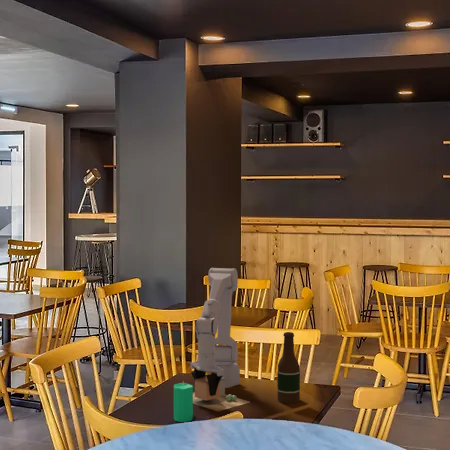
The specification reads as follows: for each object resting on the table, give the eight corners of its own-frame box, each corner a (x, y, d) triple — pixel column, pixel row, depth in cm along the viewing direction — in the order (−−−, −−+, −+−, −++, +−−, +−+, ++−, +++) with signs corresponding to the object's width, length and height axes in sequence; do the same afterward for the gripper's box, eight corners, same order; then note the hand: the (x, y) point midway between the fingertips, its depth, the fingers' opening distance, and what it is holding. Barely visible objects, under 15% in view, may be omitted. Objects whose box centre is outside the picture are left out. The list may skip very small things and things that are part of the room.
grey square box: (213, 391, 243) (213, 374, 243) (224, 395, 239) (224, 377, 239) (201, 394, 239) (201, 377, 239) (212, 398, 235) (212, 380, 235)
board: (207, 391, 246) (207, 388, 246) (250, 405, 230) (250, 401, 230) (174, 399, 236) (174, 396, 236) (217, 414, 220) (217, 410, 220)
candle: (173, 416, 218) (173, 378, 218) (192, 415, 219) (192, 378, 218) (173, 422, 212) (173, 383, 212) (193, 421, 213) (193, 383, 212)
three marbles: (230, 398, 235) (230, 393, 235) (237, 400, 232) (237, 395, 232) (222, 400, 232) (222, 395, 232) (230, 402, 230) (230, 397, 230)
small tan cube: (207, 394, 235) (207, 376, 235) (219, 397, 231) (219, 379, 231) (194, 396, 231) (195, 379, 231) (206, 400, 227) (206, 382, 227)
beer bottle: (302, 401, 235) (302, 331, 235) (297, 407, 228) (297, 335, 227) (280, 399, 238) (280, 329, 237) (274, 405, 230) (274, 333, 230)
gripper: (183, 351, 233) (183, 391, 233) (212, 358, 222) (212, 400, 223) (199, 348, 238) (199, 387, 238) (228, 355, 227) (228, 396, 228)
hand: (206, 393), depth 231 cm, fingers closed on small tan cube, 5 cm apart
